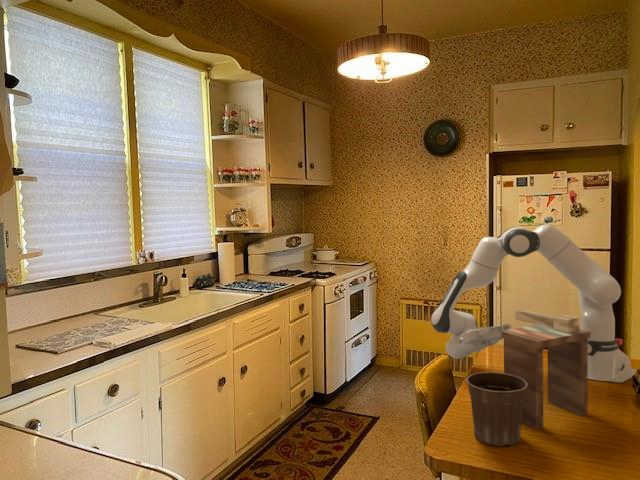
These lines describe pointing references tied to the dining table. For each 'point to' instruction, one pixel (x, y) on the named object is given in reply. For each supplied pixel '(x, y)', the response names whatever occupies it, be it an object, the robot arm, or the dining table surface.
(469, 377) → the plant pot
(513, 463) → the dining table surface
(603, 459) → the dining table surface
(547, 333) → the shelf
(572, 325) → the marker stick
